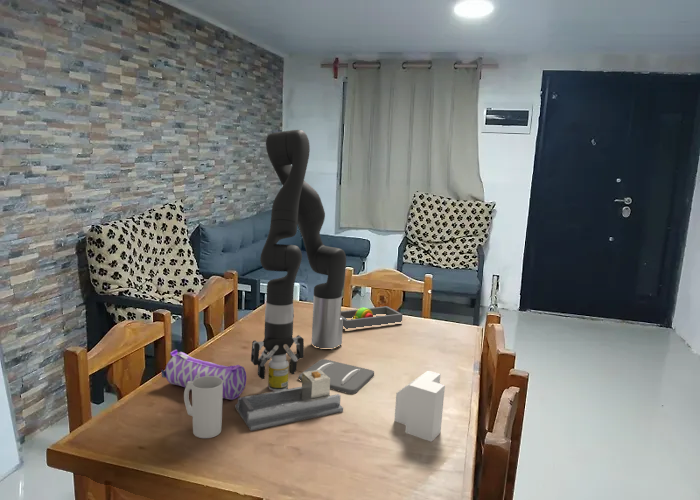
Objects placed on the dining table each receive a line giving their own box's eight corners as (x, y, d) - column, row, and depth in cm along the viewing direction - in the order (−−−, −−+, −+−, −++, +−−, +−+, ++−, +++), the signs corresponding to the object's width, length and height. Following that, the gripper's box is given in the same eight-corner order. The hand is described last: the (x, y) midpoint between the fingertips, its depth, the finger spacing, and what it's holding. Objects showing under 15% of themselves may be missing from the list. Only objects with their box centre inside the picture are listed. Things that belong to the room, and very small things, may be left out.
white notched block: (431, 441, 125) (435, 393, 122) (387, 426, 130) (391, 379, 128) (449, 423, 134) (453, 377, 131) (407, 409, 139) (410, 365, 137)
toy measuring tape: (345, 325, 202) (346, 308, 201) (381, 316, 216) (382, 300, 214) (358, 330, 198) (359, 313, 197) (393, 320, 211) (394, 304, 210)
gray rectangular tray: (386, 315, 216) (387, 306, 216) (401, 324, 207) (402, 314, 206) (332, 322, 205) (333, 312, 204) (346, 331, 195) (346, 320, 195)
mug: (228, 429, 125) (229, 380, 123) (209, 442, 119) (209, 391, 117) (194, 417, 130) (194, 370, 127) (174, 430, 124) (173, 380, 121)
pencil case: (160, 387, 144) (160, 354, 143) (184, 375, 153) (183, 343, 151) (229, 407, 136) (230, 371, 134) (250, 392, 144) (251, 359, 143)
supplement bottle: (268, 383, 150) (269, 349, 149) (288, 383, 151) (289, 349, 149) (267, 391, 145) (268, 357, 143) (287, 392, 146) (288, 357, 144)
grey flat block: (296, 371, 153) (322, 353, 167) (296, 381, 153) (321, 363, 167) (354, 385, 146) (376, 365, 159) (353, 396, 146) (375, 376, 160)
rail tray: (322, 391, 147) (323, 361, 145) (343, 411, 136) (344, 379, 135) (235, 408, 135) (235, 375, 134) (250, 430, 125) (251, 396, 123)
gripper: (298, 312, 151) (296, 367, 154) (248, 316, 144) (247, 374, 147) (309, 320, 144) (306, 377, 147) (258, 325, 138) (256, 385, 141)
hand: (277, 375), depth 147 cm, fingers open, 8 cm apart
